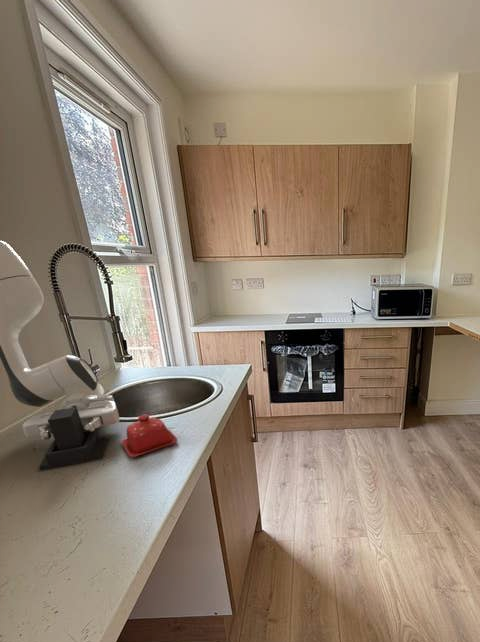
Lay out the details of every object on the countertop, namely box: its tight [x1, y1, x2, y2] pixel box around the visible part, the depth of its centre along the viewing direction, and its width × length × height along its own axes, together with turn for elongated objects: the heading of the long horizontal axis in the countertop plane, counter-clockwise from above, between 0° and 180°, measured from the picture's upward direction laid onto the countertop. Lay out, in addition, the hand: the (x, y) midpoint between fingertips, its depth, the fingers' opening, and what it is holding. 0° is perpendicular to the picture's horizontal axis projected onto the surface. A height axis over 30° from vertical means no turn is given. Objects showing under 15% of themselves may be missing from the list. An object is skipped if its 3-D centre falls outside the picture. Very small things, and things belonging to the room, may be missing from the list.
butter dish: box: [121, 414, 178, 458], centre depth 88 cm, size 12×12×8 cm
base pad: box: [38, 429, 108, 471], centre depth 85 cm, size 12×10×4 cm
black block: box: [48, 407, 87, 451], centre depth 84 cm, size 4×6×10 cm
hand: (67, 432), depth 83 cm, fingers open, 7 cm apart
